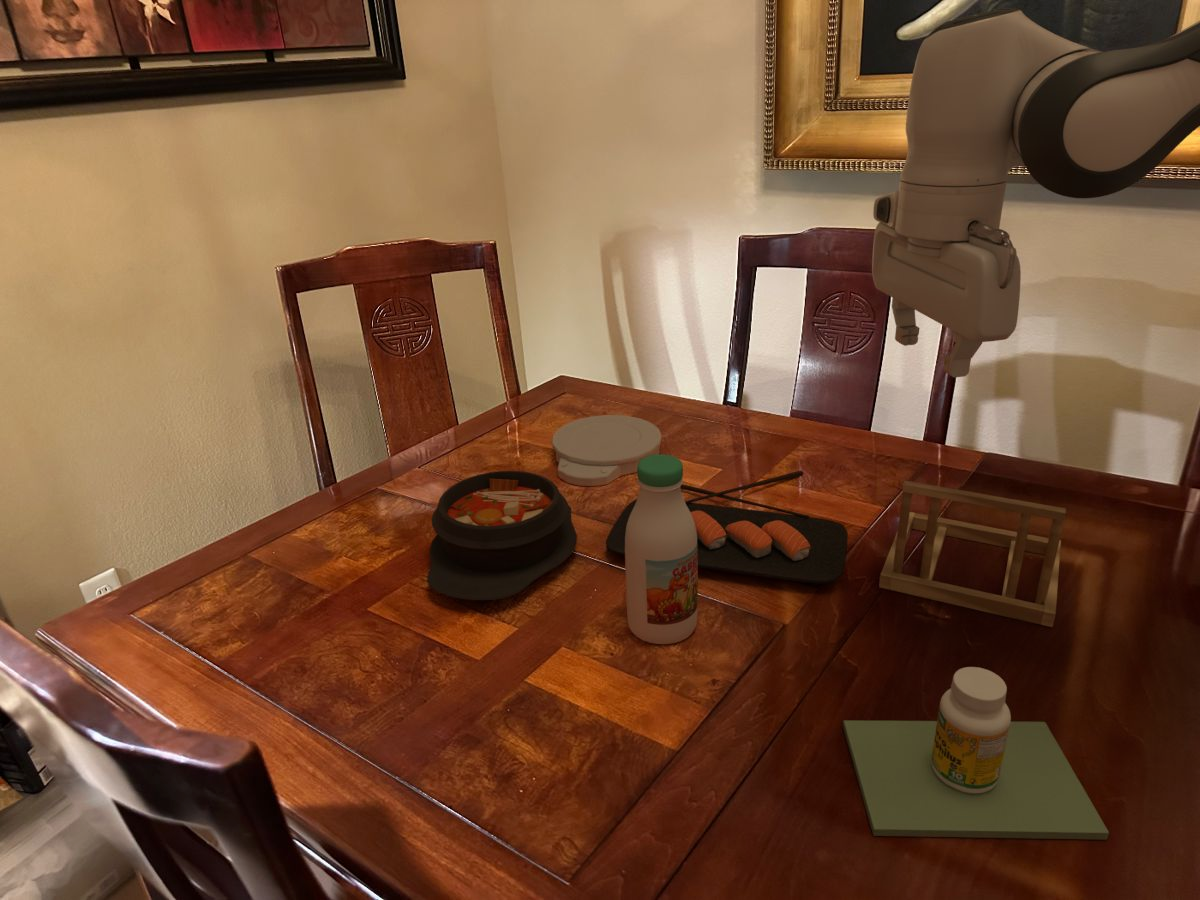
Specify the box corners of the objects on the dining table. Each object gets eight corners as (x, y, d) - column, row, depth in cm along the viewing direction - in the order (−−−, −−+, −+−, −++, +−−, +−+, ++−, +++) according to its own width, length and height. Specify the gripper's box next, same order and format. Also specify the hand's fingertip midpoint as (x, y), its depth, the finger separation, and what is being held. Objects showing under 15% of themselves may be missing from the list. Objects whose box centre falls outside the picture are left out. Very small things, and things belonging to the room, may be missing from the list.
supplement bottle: (1012, 788, 70) (1032, 699, 66) (954, 802, 69) (971, 712, 65) (972, 741, 75) (988, 655, 70) (917, 754, 74) (931, 667, 69)
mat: (1043, 728, 77) (1045, 721, 76) (1107, 840, 66) (1109, 832, 66) (842, 726, 78) (843, 720, 78) (873, 836, 67) (874, 829, 67)
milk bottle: (620, 642, 91) (613, 477, 82) (635, 600, 97) (630, 444, 89) (692, 650, 89) (692, 483, 80) (701, 607, 95) (703, 448, 87)
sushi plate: (598, 563, 105) (597, 536, 103) (661, 459, 130) (661, 436, 128) (840, 598, 96) (843, 570, 94) (856, 479, 121) (859, 455, 119)
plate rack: (903, 522, 110) (915, 433, 104) (1058, 553, 102) (1079, 458, 97) (878, 587, 97) (890, 490, 92) (1052, 627, 89) (1076, 523, 84)
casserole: (477, 500, 121) (470, 448, 117) (601, 513, 116) (599, 459, 112) (392, 602, 99) (381, 541, 95) (541, 623, 94) (535, 560, 90)
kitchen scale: (525, 477, 126) (524, 459, 125) (579, 425, 143) (578, 409, 142) (632, 494, 120) (632, 476, 119) (676, 438, 137) (676, 421, 135)
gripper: (1053, 231, 67) (1024, 393, 73) (924, 194, 85) (909, 325, 91) (979, 237, 66) (956, 400, 72) (866, 198, 85) (854, 330, 91)
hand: (929, 358), depth 82 cm, fingers open, 8 cm apart
